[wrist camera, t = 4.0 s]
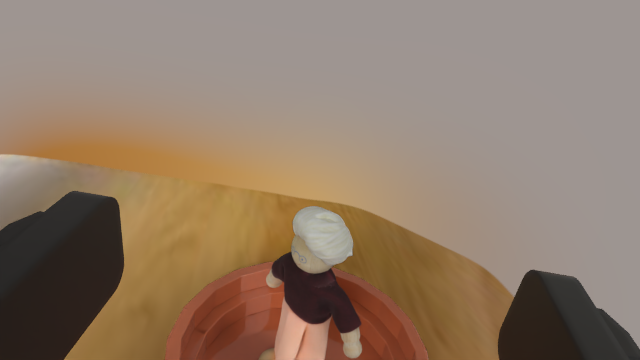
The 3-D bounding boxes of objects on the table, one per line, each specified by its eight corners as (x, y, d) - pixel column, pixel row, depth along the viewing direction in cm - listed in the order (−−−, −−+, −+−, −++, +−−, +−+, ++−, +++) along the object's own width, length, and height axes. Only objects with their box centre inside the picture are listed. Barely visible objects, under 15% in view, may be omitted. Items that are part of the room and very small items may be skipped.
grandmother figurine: (230, 364, 28) (241, 195, 22) (270, 330, 31) (288, 173, 25) (328, 441, 25) (371, 265, 19) (362, 394, 28) (408, 229, 22)
